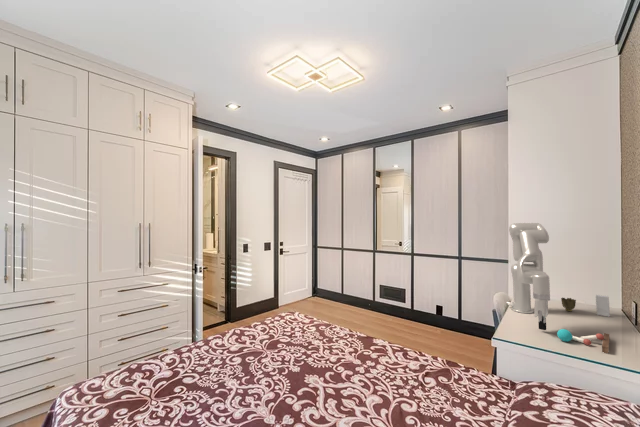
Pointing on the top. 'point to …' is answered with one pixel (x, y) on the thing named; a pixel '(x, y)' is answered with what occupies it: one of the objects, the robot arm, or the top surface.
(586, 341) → the pin
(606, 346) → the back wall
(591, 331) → the top surface
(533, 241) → the robot arm
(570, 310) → the cup
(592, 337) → the pin
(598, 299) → the skincare box
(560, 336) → the ball
